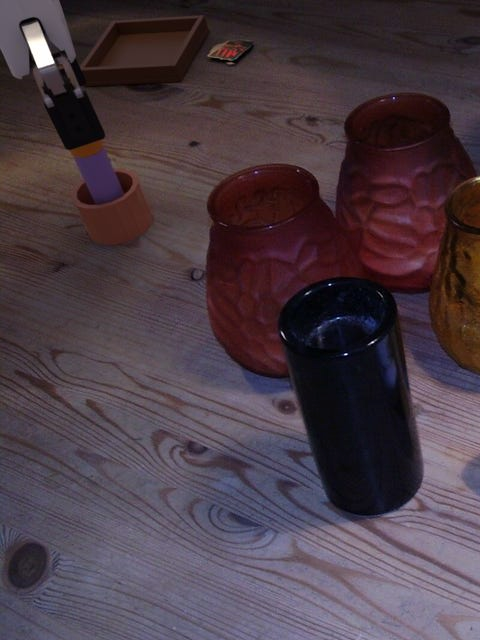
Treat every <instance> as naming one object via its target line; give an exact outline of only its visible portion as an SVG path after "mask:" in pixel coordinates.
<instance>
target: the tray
mask: <svg viewBox="0 0 480 640" xmlns="http://www.w3.org/2000/svg"><path fill="white" fill-rule="evenodd" d="M109 23H110V24H109V25H108V26H107V27H106V29H105V31H104V32H103V33H102V35H101V36H100V37H99V39H98V40H97V42H95V44H94V46H93V47H92V49H91V50H90V51H89V53H88V55H86V57H85V59H84V60H83V61H82V63H81V64H80V65H79V66H80V69H81V71H82V73H83V75H84V77H85V80H86V83H85V85H83V87H84V88H87V87H105V86H123V85H126V86H127V85H143V84H162V83H163V84H164V83H181V82H182V80H183V79H184V77H185V76H186V73H187V72H188V70H189V69H190V67H191V64H192V63H193V61H194V59H195V58H196V56H197V54H198V52H199V50H200V49H201V47H202V45H203V43H204V42H205V40H206V38H207V36H208V34H209V33H210V29H209V26H208V23H207V20H206V17H205V15H204V14H202V15H185V16H169V17H153V18H151V17H150V18H149V17H148V18H135V19H120V20H119V19H118V20H117V19H115V20H111V22H109Z"/></svg>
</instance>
